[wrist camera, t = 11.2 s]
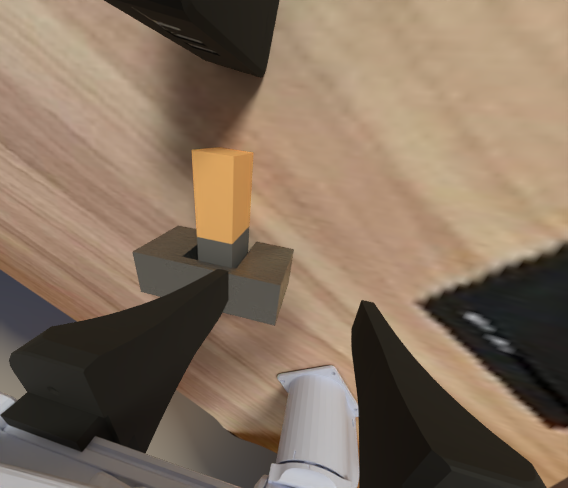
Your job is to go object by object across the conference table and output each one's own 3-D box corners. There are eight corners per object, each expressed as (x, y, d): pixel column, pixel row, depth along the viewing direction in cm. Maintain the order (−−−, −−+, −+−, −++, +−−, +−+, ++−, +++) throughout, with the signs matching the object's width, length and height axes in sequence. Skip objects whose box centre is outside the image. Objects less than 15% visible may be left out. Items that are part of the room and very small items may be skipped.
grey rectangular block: (288, 283, 23) (274, 325, 18) (181, 259, 24) (141, 291, 19) (293, 249, 21) (280, 285, 16) (178, 225, 23) (132, 251, 17)
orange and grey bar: (246, 281, 24) (230, 306, 20) (220, 275, 24) (200, 299, 21) (253, 152, 18) (233, 156, 15) (218, 147, 18) (191, 149, 15)
